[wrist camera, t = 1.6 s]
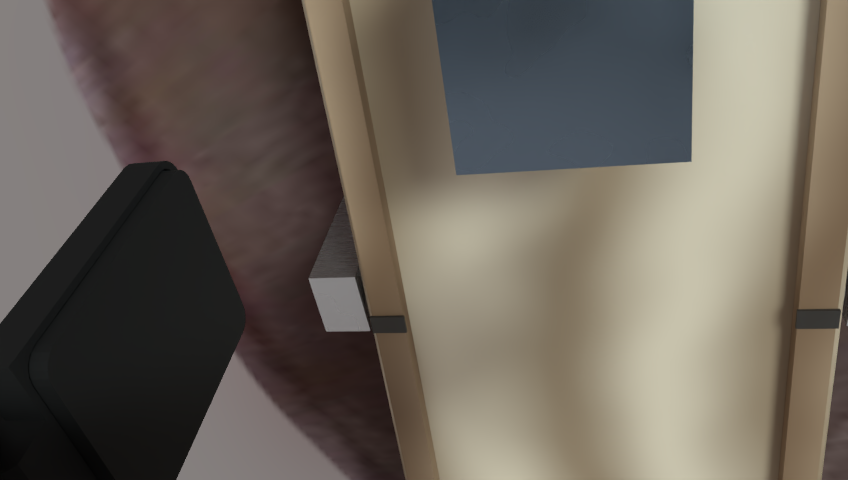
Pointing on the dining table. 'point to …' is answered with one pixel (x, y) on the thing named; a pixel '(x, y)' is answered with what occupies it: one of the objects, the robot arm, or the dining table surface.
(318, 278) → the pivot stand
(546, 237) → the beam
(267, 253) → the dining table surface
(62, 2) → the dining table surface
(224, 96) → the dining table surface
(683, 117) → the grey block
